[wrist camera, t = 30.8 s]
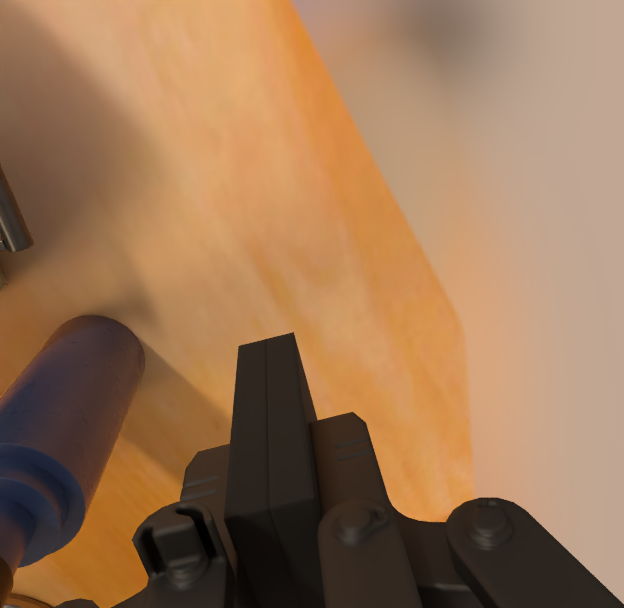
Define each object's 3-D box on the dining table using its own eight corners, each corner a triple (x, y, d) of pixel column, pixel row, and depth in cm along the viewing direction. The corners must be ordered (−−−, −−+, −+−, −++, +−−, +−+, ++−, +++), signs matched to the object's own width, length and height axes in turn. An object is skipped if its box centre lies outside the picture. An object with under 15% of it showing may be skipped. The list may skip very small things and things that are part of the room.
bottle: (157, 387, 45) (71, 645, 25) (68, 409, 45) (-91, 684, 25) (126, 305, 42) (1, 515, 22) (32, 328, 42) (-180, 559, 22)
